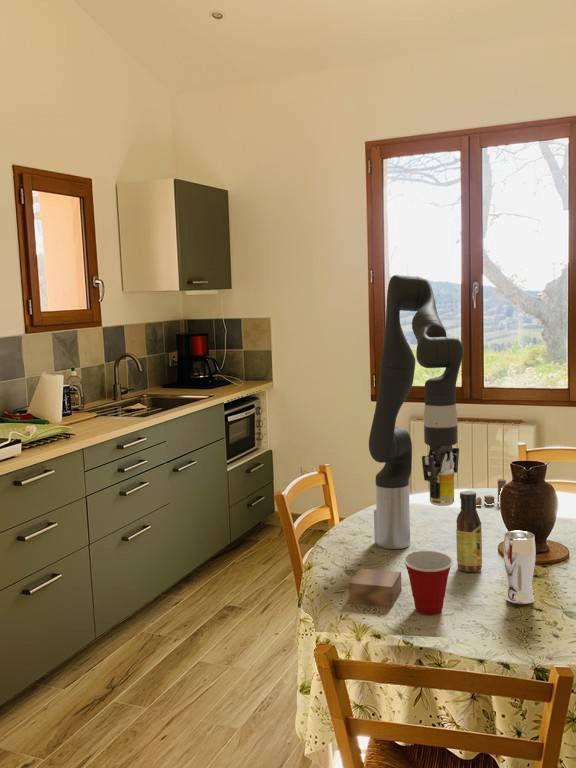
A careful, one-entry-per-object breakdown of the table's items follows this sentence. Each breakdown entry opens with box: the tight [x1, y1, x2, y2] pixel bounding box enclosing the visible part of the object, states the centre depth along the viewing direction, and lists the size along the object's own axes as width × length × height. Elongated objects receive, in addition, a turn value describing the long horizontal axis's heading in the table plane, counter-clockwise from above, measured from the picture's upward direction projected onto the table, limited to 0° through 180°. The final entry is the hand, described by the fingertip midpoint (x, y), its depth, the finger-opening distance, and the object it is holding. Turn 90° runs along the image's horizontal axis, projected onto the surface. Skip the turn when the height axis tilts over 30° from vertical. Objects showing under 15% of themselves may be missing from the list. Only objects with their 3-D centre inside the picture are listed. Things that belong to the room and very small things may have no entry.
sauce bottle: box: [455, 490, 483, 574], centre depth 191 cm, size 6×6×20 cm
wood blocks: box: [476, 478, 507, 506], centre depth 243 cm, size 25×3×10 cm, turn 97°
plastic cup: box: [402, 549, 454, 616], centre depth 166 cm, size 11×11×12 cm
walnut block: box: [348, 567, 403, 608], centre depth 175 cm, size 10×10×5 cm
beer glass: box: [503, 530, 537, 605], centre depth 170 cm, size 7×7×15 cm
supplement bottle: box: [428, 460, 455, 507], centre depth 175 cm, size 6×6×10 cm
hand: (441, 494), depth 175 cm, fingers closed on supplement bottle, 5 cm apart
